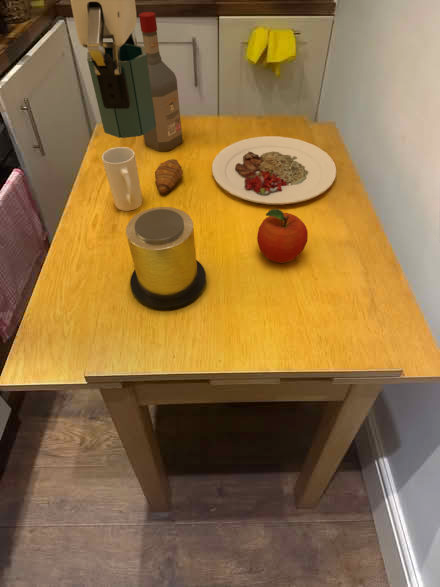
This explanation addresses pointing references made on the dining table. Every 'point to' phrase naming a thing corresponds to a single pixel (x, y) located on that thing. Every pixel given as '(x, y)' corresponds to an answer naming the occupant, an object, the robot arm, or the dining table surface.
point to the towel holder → (164, 259)
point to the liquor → (161, 91)
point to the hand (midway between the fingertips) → (124, 92)
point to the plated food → (274, 170)
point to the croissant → (167, 175)
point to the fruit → (281, 236)
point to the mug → (123, 177)
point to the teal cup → (140, 95)
